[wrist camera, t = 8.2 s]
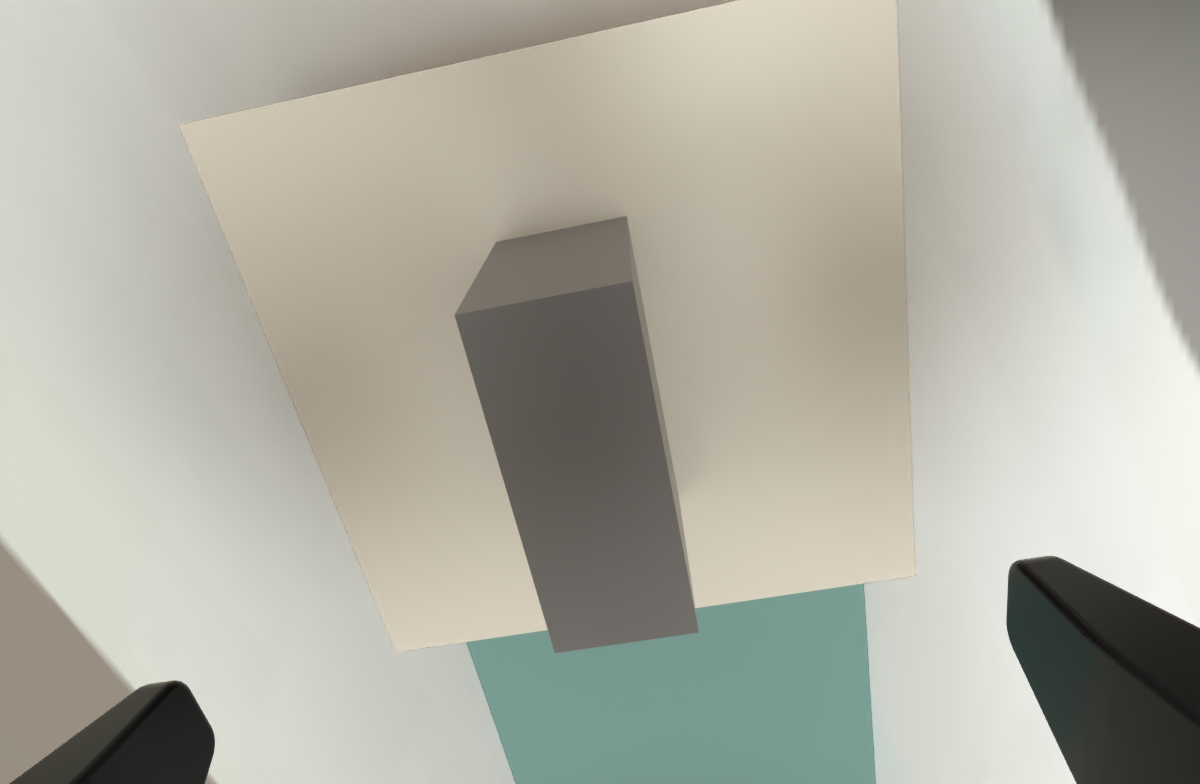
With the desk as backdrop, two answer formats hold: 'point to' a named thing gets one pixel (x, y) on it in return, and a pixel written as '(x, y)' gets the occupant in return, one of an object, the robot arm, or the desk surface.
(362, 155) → the lid
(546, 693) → the mat
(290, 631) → the desk surface
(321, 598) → the desk surface
